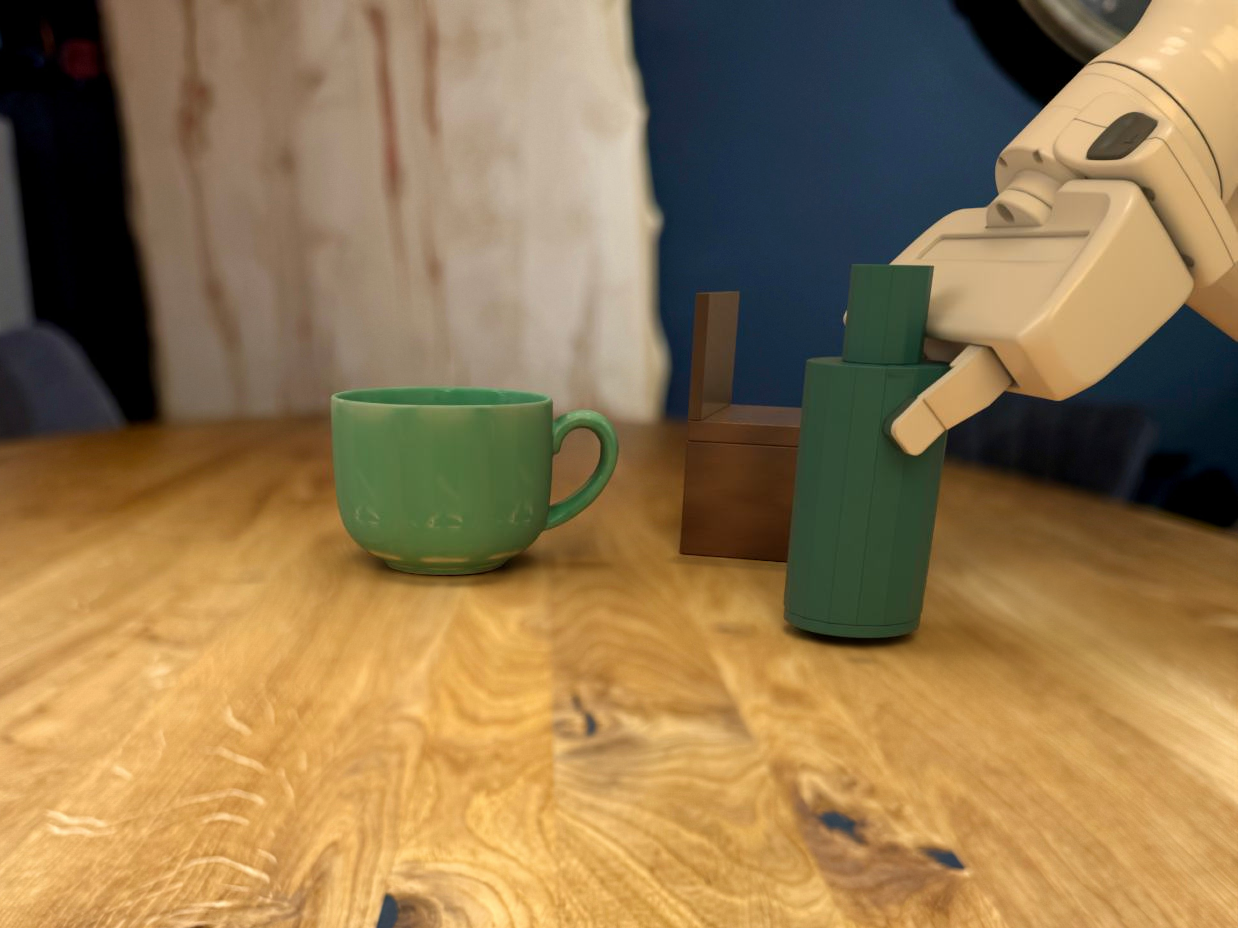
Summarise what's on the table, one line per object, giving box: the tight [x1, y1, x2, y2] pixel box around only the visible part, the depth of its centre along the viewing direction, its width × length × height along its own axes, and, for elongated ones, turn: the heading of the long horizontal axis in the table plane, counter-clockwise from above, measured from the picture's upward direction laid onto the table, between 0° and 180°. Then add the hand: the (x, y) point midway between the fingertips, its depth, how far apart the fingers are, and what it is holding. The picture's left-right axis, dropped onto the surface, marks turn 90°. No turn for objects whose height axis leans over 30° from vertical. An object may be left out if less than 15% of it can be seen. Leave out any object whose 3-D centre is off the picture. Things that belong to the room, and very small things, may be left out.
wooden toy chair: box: [679, 290, 802, 563], centre depth 84 cm, size 11×12×15 cm
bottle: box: [782, 263, 952, 639], centre depth 62 cm, size 7×7×16 cm
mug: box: [330, 386, 620, 576], centre depth 76 cm, size 17×13×10 cm
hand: (860, 431), depth 61 cm, fingers closed on bottle, 7 cm apart
